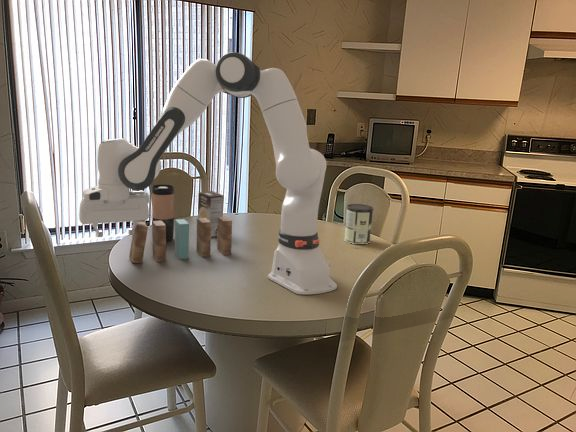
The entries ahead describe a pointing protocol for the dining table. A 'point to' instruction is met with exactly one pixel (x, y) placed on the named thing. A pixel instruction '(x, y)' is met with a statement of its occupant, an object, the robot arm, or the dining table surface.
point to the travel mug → (164, 207)
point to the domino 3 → (203, 237)
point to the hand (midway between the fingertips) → (115, 235)
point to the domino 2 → (182, 239)
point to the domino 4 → (224, 235)
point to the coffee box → (211, 208)
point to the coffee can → (358, 224)
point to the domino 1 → (159, 240)
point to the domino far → (138, 243)
